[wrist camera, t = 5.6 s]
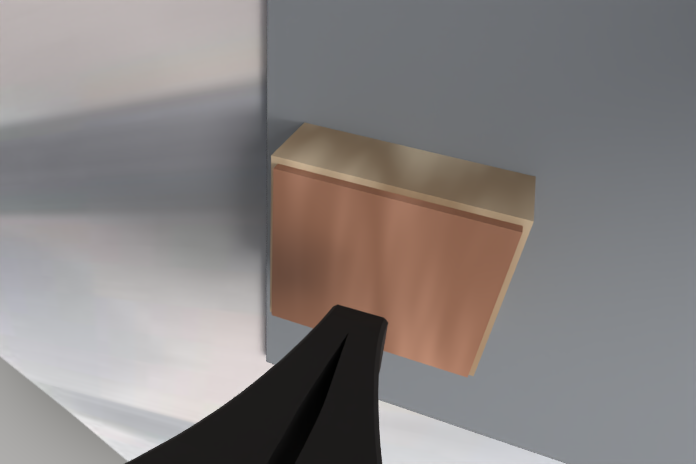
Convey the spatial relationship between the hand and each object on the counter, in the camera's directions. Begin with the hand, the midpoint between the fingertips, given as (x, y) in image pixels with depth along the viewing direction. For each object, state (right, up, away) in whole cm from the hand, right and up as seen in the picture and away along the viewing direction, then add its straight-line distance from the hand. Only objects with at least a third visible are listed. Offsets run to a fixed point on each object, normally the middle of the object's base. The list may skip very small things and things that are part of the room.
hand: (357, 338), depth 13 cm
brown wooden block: (+4, +1, +2) cm, 5 cm away
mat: (+5, +2, +4) cm, 6 cm away
